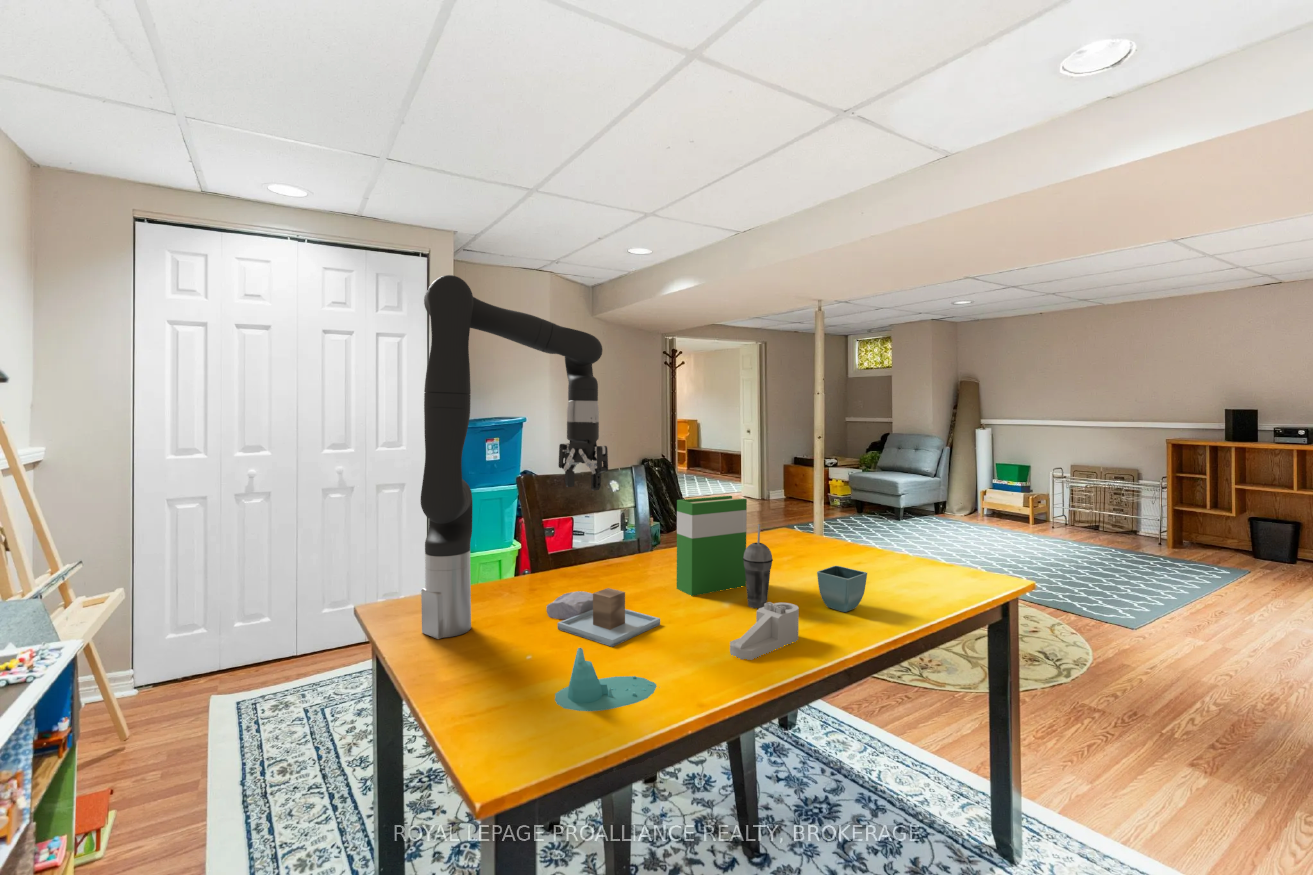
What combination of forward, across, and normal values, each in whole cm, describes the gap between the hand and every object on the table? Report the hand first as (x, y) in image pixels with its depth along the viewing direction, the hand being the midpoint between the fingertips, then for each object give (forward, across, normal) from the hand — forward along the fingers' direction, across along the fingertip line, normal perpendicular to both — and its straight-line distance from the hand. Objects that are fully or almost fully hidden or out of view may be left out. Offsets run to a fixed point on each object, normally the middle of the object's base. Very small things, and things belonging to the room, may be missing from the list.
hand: (582, 488), depth 141 cm
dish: (+29, +13, -4) cm, 32 cm away
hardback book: (+29, +14, +35) cm, 48 cm away
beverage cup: (+29, +31, +29) cm, 52 cm away
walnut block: (+29, +13, -4) cm, 32 cm away
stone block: (+30, -1, -2) cm, 30 cm away
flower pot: (+29, +48, +40) cm, 69 cm away
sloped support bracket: (+29, +45, +8) cm, 54 cm away
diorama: (+30, +34, -27) cm, 52 cm away
